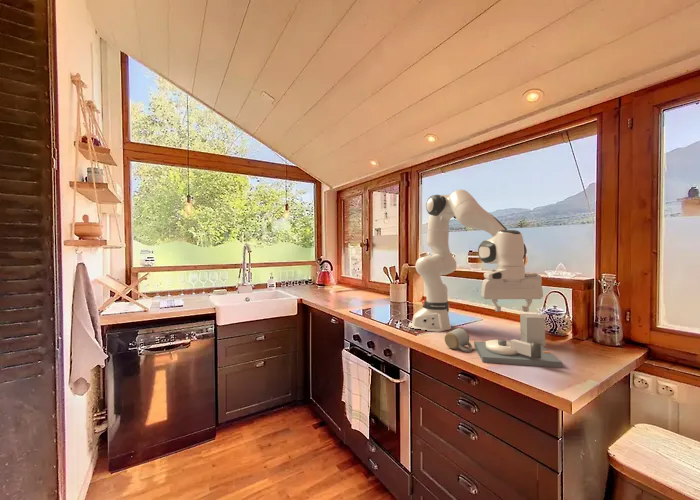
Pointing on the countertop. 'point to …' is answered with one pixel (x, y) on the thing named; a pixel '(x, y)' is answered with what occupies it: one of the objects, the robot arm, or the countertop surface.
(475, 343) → the stand
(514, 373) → the countertop surface
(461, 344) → the ceramic mug
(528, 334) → the supplement box
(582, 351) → the countertop surface
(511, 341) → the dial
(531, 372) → the countertop surface
